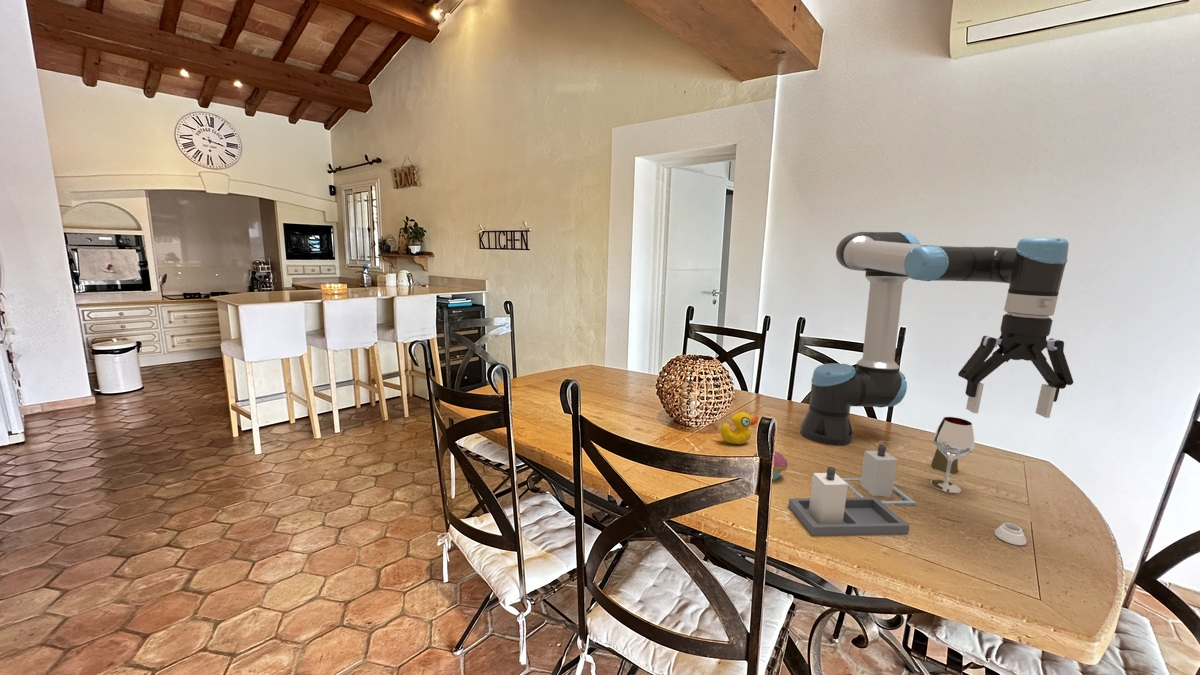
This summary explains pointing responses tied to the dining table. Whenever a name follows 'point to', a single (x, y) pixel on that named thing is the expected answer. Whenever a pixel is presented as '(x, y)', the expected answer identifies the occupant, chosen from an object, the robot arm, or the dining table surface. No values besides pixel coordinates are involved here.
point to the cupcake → (778, 464)
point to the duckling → (738, 428)
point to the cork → (943, 463)
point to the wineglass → (953, 447)
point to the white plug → (827, 497)
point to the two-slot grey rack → (853, 518)
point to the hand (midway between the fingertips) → (1006, 413)
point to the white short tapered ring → (1011, 534)
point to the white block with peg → (878, 472)
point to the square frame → (905, 497)
